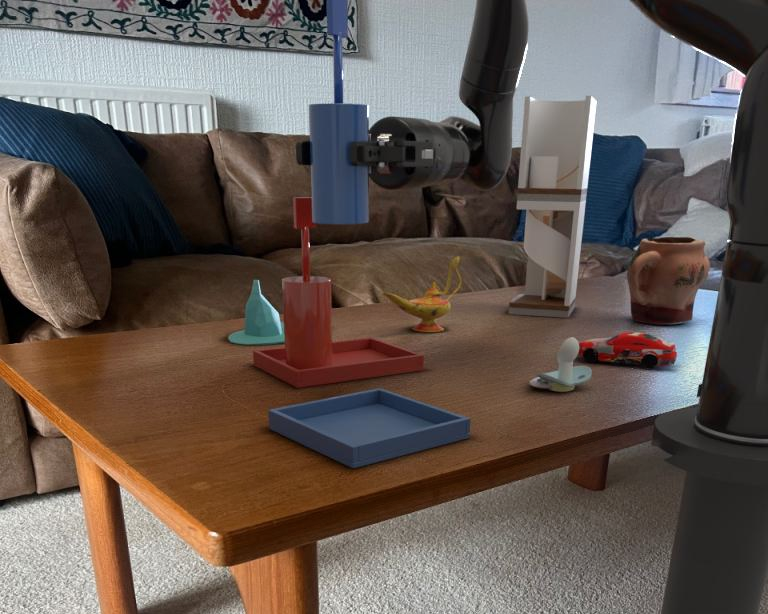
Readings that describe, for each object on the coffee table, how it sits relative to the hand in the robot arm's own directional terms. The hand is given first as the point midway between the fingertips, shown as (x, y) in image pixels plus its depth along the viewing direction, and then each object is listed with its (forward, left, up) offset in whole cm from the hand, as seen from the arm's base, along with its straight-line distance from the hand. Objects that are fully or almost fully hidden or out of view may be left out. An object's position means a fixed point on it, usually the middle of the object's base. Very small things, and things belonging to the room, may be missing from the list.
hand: (326, 153), depth 78 cm
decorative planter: (-23, -71, -26) cm, 79 cm away
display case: (-2, -72, -26) cm, 76 cm away
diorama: (+27, -29, -26) cm, 47 cm away
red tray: (+7, -14, -25) cm, 30 cm away
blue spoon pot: (0, -3, -7) cm, 7 cm away
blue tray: (-10, +8, -25) cm, 28 cm away
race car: (-25, -37, -26) cm, 51 cm away
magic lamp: (+9, -43, -26) cm, 51 cm away
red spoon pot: (+10, -10, -25) cm, 28 cm away
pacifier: (-21, -19, -26) cm, 38 cm away
